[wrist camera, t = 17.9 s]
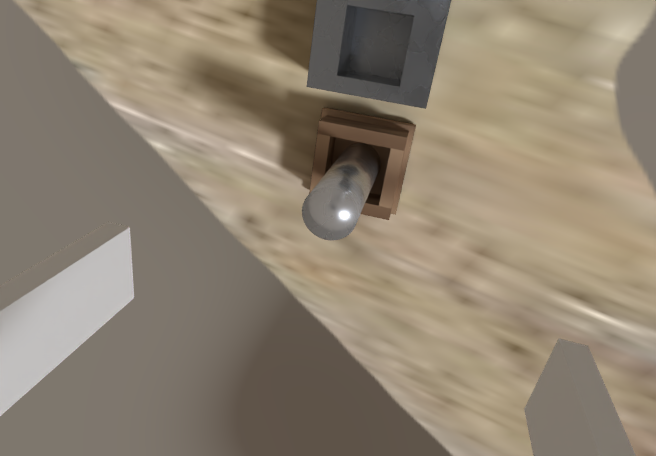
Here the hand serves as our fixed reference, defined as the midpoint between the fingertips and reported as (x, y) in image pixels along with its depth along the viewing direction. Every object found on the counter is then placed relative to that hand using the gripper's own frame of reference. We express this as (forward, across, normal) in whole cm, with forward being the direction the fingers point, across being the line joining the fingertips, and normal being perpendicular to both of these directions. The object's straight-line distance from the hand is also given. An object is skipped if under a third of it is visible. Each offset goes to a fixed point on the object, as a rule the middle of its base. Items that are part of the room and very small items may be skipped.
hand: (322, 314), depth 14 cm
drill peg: (+31, -3, -5) cm, 32 cm away
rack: (+32, -4, -5) cm, 33 cm away
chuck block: (+33, -4, +8) cm, 34 cm away
